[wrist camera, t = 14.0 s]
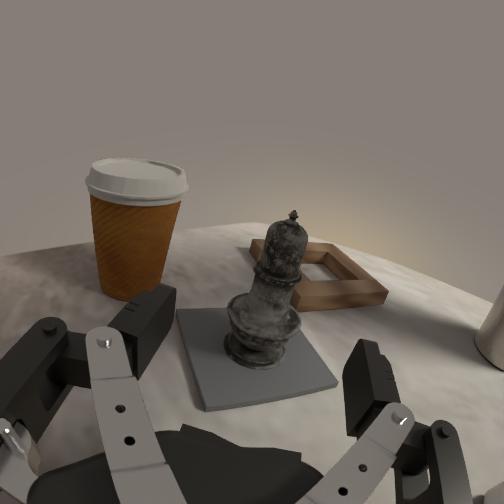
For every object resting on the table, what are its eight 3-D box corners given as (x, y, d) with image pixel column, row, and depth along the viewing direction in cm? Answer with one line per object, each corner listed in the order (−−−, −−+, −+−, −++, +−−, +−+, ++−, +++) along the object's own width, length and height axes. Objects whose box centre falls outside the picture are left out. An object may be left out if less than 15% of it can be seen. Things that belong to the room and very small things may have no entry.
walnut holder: (328, 254, 50) (332, 243, 49) (383, 304, 38) (389, 291, 37) (249, 251, 44) (252, 238, 43) (295, 312, 33) (300, 296, 32)
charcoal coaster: (281, 310, 32) (282, 305, 32) (336, 386, 23) (338, 382, 23) (175, 314, 28) (176, 308, 28) (205, 412, 19) (206, 407, 19)
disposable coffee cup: (193, 294, 31) (213, 178, 27) (111, 324, 24) (114, 185, 19) (143, 255, 36) (154, 156, 31) (72, 272, 29) (72, 159, 24)
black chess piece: (207, 332, 26) (234, 193, 21) (262, 320, 29) (297, 197, 24) (244, 381, 21) (290, 228, 17) (302, 360, 25) (354, 227, 20)
